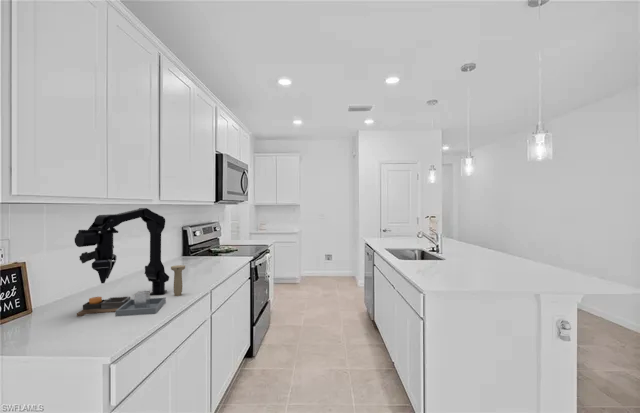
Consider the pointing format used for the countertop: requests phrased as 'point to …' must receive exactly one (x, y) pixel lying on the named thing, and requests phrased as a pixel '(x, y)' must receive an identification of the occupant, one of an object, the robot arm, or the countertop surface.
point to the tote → (129, 308)
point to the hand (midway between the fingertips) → (104, 280)
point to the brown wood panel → (104, 306)
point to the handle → (178, 279)
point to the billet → (142, 299)
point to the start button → (95, 300)
